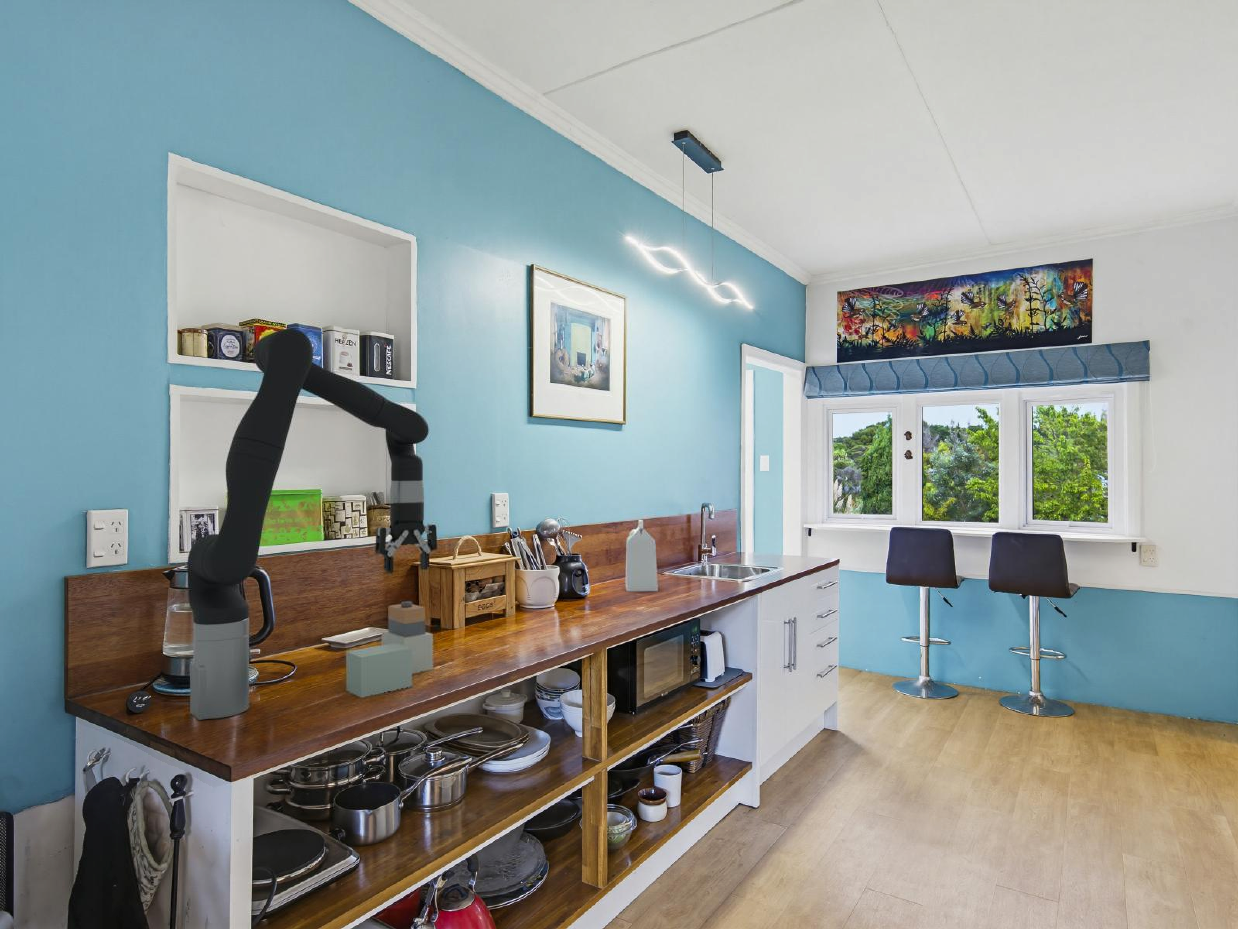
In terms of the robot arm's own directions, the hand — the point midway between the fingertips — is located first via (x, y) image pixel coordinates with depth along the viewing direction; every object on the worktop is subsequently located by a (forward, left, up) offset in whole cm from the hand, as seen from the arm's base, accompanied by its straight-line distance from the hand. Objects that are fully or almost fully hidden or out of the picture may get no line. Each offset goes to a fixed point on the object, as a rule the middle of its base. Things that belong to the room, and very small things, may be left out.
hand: (406, 571), depth 170 cm
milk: (+119, +42, -22) cm, 128 cm away
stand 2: (0, 0, -22) cm, 22 cm away
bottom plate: (0, 0, -14) cm, 14 cm away
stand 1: (-12, -11, -22) cm, 27 cm away
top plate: (0, 0, -11) cm, 11 cm away
